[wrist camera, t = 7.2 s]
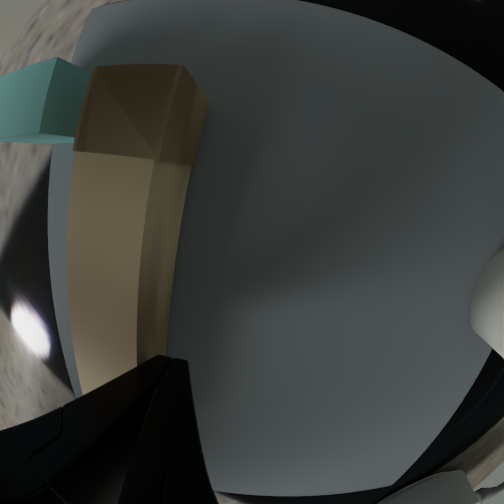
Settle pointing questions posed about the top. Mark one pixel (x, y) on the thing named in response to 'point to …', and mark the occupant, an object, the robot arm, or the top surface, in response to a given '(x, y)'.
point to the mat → (314, 235)
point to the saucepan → (442, 491)
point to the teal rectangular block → (42, 102)
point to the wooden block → (128, 212)
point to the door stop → (490, 304)
